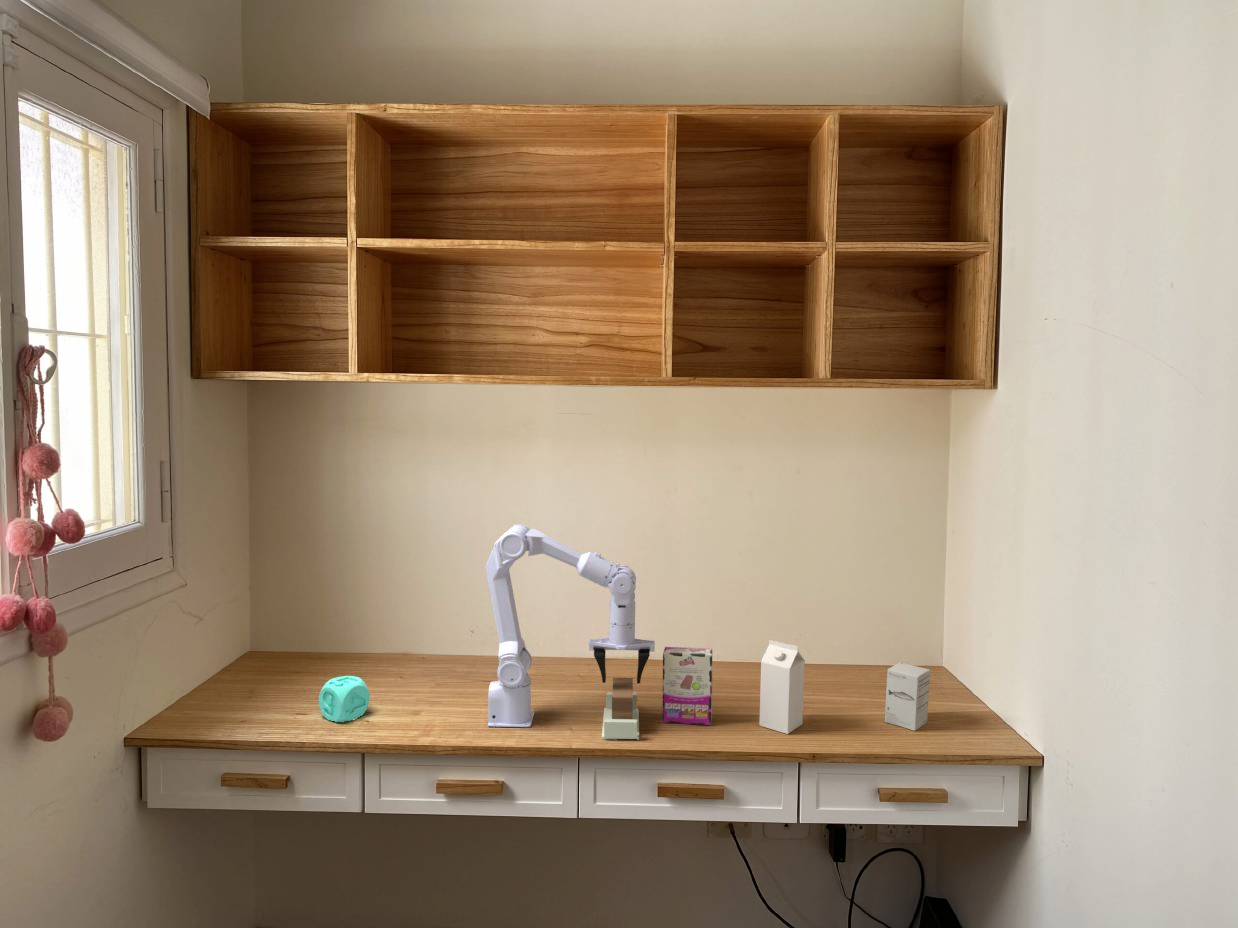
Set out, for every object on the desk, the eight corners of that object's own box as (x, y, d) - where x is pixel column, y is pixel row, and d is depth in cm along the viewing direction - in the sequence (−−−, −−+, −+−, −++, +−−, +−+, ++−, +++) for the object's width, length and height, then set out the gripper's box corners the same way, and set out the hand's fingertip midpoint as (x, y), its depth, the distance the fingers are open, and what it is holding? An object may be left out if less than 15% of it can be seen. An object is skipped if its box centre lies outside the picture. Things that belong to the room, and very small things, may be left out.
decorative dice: (370, 713, 188) (370, 680, 187) (341, 725, 181) (341, 690, 180) (347, 706, 192) (346, 673, 191) (318, 717, 185) (317, 683, 185)
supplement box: (883, 722, 186) (885, 668, 185) (897, 713, 192) (899, 660, 191) (915, 732, 181) (917, 676, 180) (928, 722, 187) (931, 668, 186)
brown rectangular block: (632, 724, 177) (632, 697, 177) (611, 724, 178) (611, 697, 177) (632, 703, 189) (632, 677, 189) (613, 702, 189) (613, 677, 189)
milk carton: (774, 716, 189) (777, 636, 187) (802, 724, 185) (805, 642, 183) (759, 726, 184) (761, 643, 182) (787, 734, 179) (790, 650, 177)
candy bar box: (711, 717, 188) (713, 647, 187) (711, 726, 183) (713, 654, 182) (663, 714, 190) (664, 645, 188) (661, 722, 185) (662, 652, 183)
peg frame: (639, 740, 175) (639, 722, 175) (601, 740, 175) (601, 721, 175) (638, 709, 192) (638, 692, 192) (604, 708, 192) (604, 691, 192)
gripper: (588, 626, 178) (587, 687, 179) (655, 627, 177) (654, 688, 179) (590, 617, 185) (589, 675, 186) (654, 618, 184) (653, 677, 186)
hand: (621, 681), depth 183 cm, fingers open, 7 cm apart
